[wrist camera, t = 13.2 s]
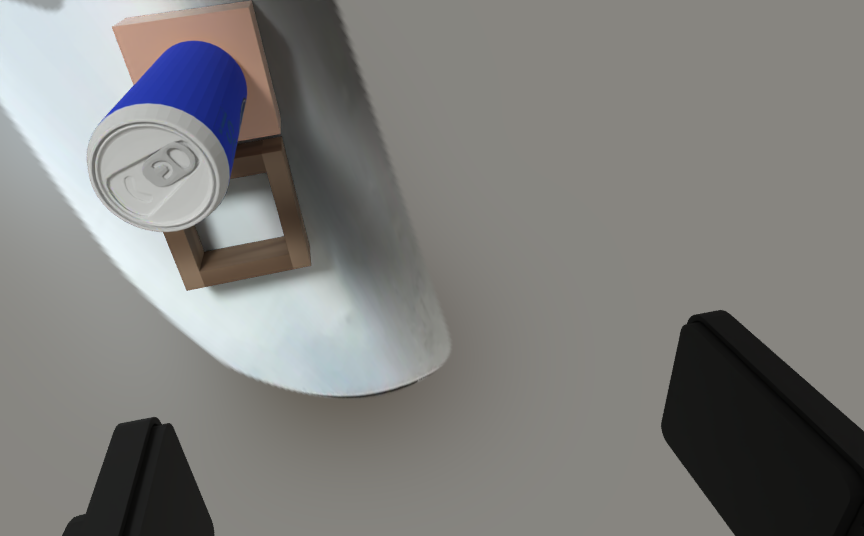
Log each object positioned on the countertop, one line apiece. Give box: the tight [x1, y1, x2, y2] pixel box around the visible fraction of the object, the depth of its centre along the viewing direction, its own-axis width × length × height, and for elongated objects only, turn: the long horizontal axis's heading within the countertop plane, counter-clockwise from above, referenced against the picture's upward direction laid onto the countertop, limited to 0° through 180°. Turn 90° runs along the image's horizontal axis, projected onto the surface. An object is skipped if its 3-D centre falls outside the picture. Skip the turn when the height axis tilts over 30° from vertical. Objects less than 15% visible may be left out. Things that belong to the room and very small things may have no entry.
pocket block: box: [163, 136, 311, 291], centre depth 41 cm, size 9×9×3 cm
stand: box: [112, 0, 281, 141], centre depth 36 cm, size 8×8×4 cm
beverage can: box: [87, 41, 247, 232], centre depth 28 cm, size 5×5×15 cm
